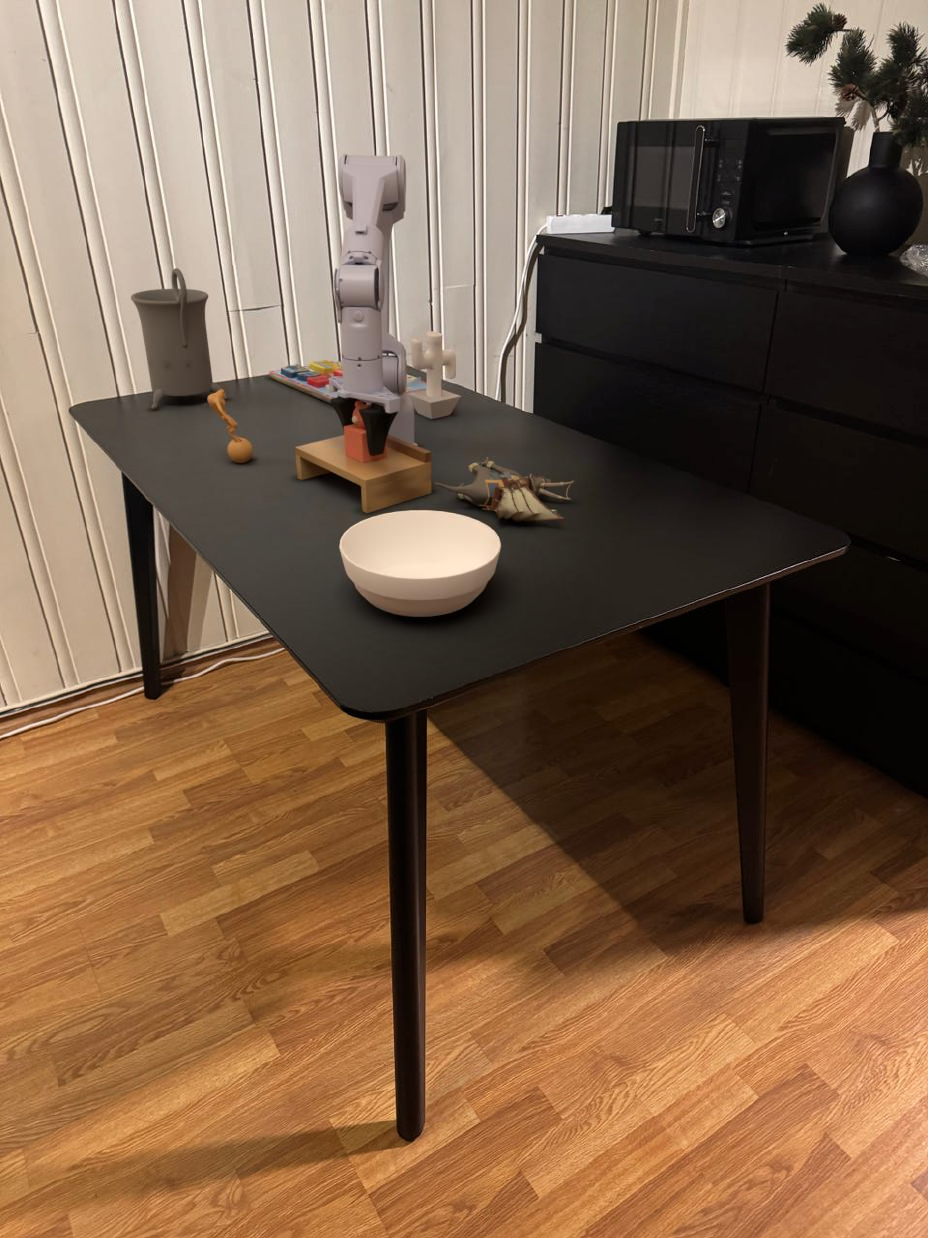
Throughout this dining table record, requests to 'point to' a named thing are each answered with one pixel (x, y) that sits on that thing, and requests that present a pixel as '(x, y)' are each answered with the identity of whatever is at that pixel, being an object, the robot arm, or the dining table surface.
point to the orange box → (358, 438)
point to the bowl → (420, 561)
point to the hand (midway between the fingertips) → (365, 449)
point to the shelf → (371, 470)
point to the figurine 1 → (231, 430)
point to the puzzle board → (326, 378)
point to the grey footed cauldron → (175, 340)
